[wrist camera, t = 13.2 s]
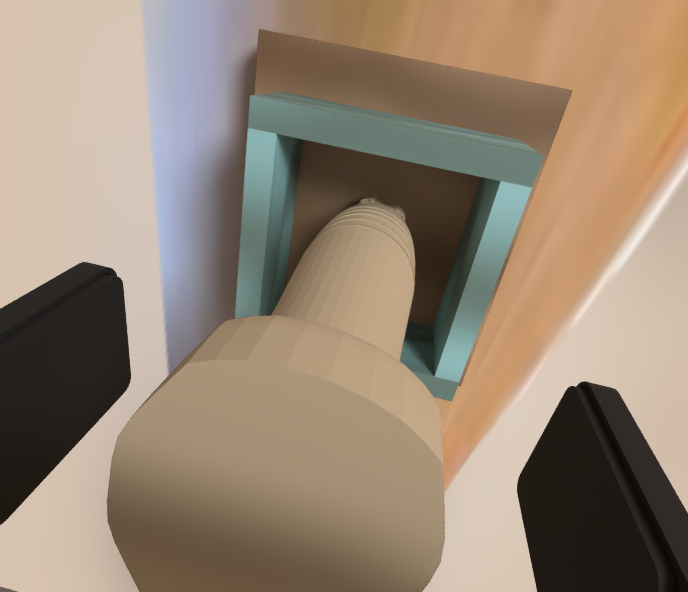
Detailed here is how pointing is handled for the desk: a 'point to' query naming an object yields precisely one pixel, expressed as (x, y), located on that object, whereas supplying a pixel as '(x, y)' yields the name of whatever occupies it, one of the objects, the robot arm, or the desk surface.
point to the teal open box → (393, 179)
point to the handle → (293, 438)
